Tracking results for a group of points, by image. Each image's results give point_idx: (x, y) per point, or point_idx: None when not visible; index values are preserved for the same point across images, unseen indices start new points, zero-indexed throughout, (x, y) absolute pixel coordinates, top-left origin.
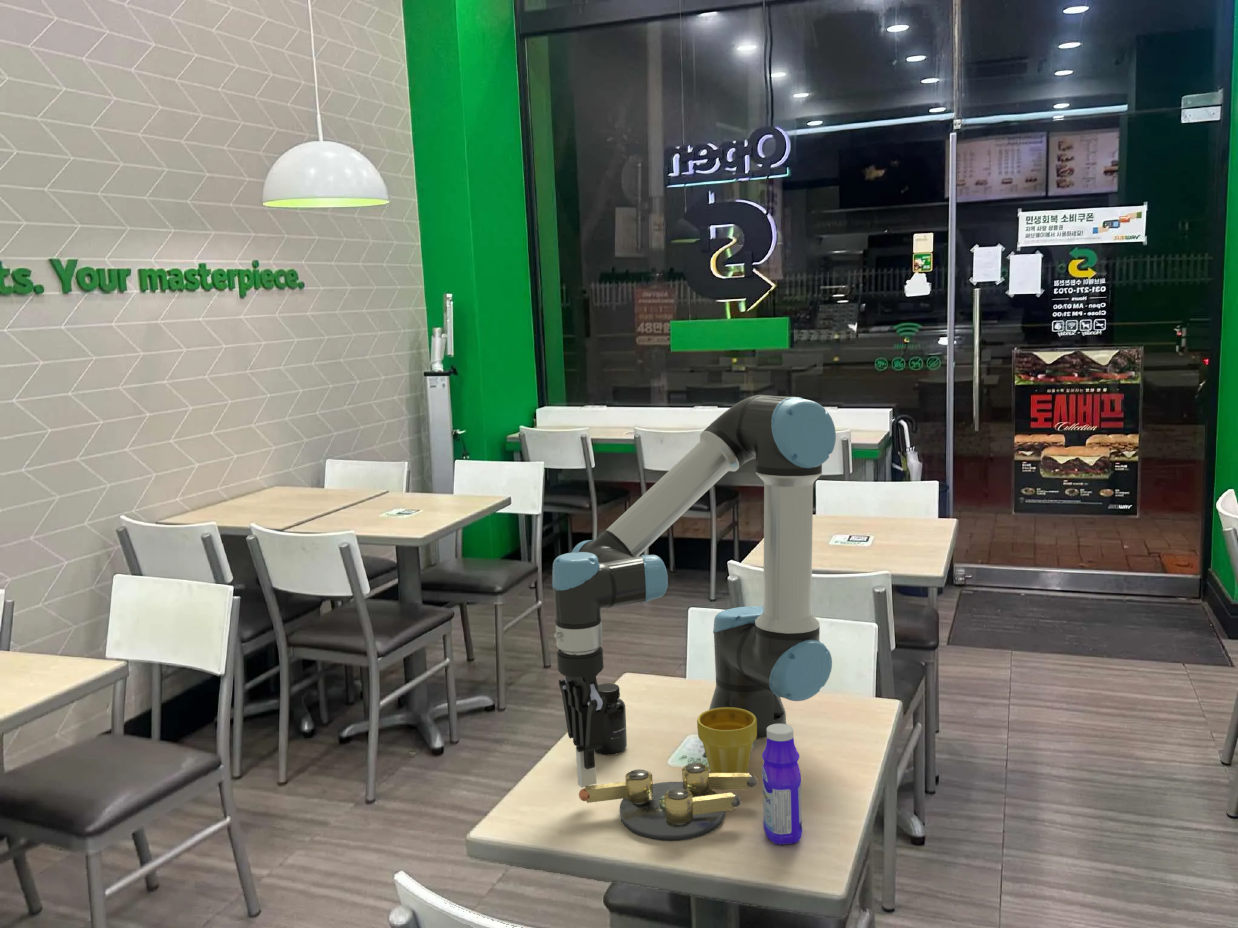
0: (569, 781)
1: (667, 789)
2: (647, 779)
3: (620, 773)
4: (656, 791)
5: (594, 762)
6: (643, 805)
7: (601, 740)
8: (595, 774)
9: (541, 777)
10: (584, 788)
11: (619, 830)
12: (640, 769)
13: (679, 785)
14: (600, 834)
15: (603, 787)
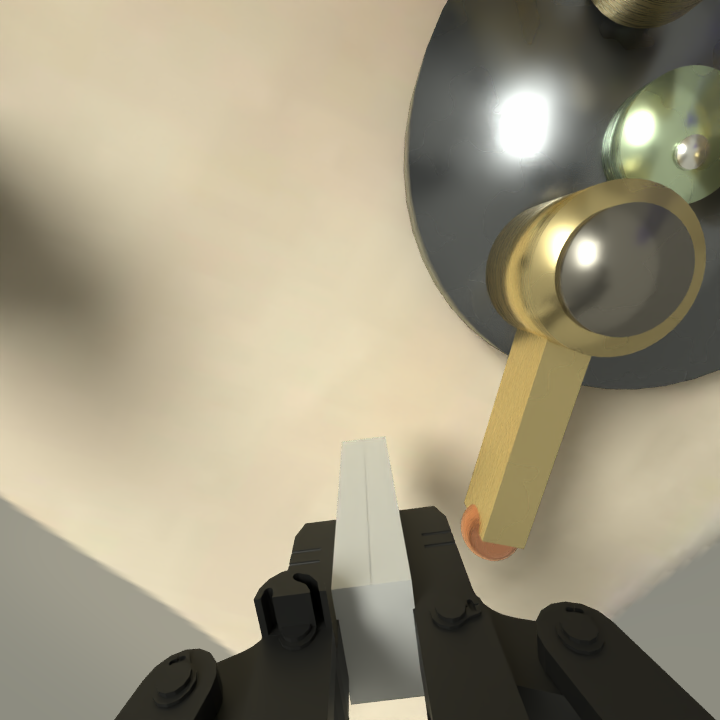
0: (153, 439)
1: (503, 90)
2: (693, 240)
3: (158, 214)
4: (493, 155)
5: (449, 529)
6: None
7: (682, 693)
8: (389, 459)
9: (77, 522)
10: (492, 545)
11: (620, 404)
12: (580, 235)
13: (495, 4)
14: (606, 472)
15: (545, 469)
